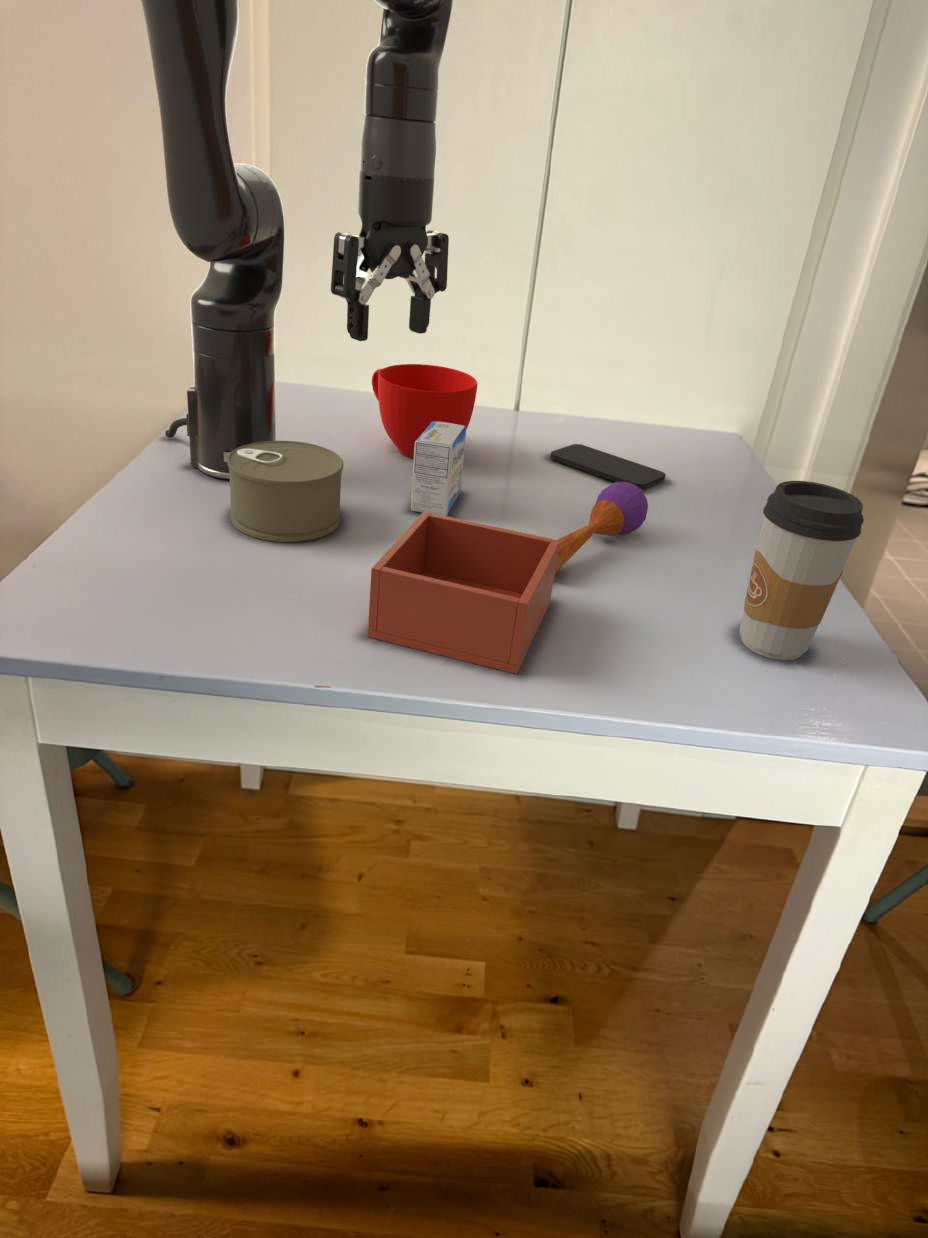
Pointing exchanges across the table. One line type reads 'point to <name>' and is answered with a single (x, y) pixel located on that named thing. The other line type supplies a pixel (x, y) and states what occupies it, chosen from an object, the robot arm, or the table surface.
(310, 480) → the can
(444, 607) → the bin
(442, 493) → the medicine box
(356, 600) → the table surface
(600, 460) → the phone
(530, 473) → the table surface
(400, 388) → the ceramic cup
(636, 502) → the purple and orange maraca
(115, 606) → the table surface
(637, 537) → the table surface
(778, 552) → the coffee cup
